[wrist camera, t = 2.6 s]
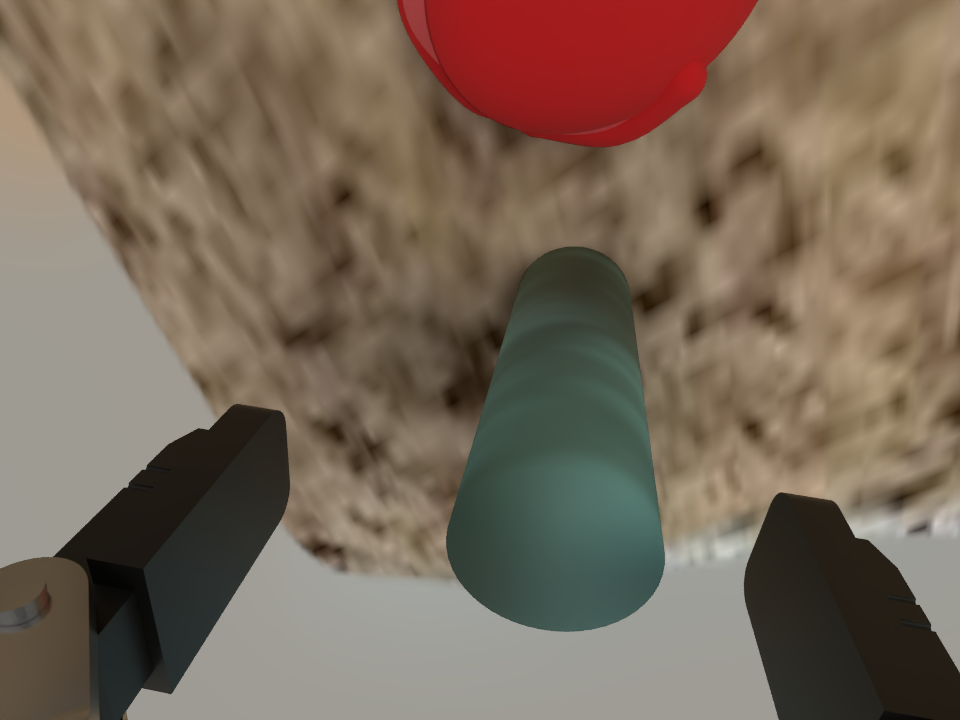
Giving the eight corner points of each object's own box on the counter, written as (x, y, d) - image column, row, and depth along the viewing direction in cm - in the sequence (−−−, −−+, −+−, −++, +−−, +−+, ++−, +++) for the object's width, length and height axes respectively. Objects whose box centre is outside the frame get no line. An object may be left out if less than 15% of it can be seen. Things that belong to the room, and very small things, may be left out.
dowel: (640, 253, 17) (687, 488, 8) (619, 357, 19) (641, 648, 10) (523, 240, 17) (451, 451, 9) (512, 343, 19) (441, 611, 10)
